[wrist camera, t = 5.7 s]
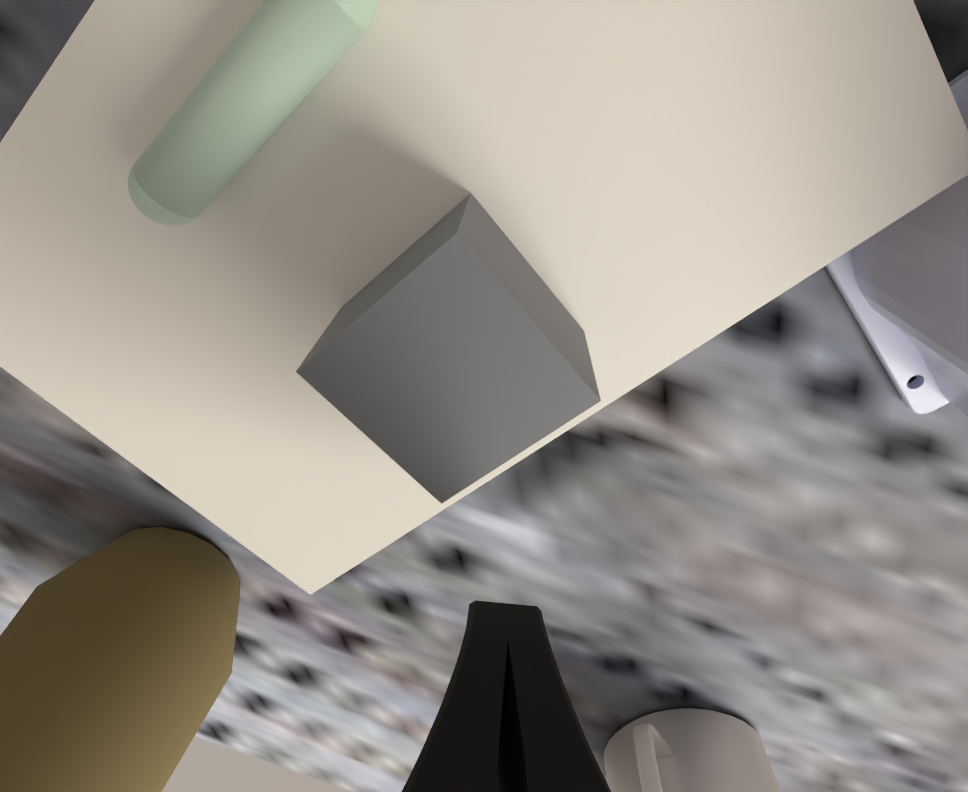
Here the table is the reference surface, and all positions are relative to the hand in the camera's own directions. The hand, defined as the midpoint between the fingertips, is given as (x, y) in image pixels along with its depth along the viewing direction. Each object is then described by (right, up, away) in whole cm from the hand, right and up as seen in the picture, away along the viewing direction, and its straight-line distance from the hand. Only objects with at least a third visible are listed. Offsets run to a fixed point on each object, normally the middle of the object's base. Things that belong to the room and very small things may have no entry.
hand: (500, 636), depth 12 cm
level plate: (-2, +9, +1) cm, 9 cm away
